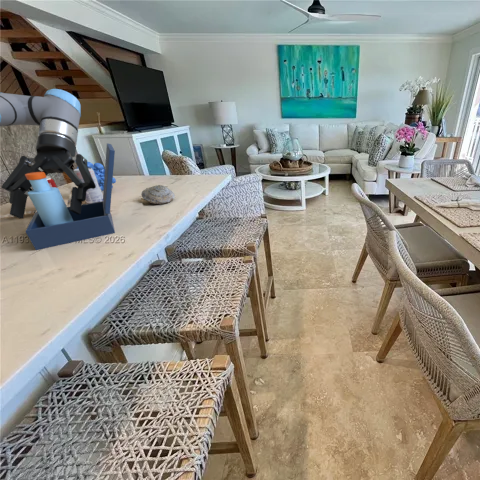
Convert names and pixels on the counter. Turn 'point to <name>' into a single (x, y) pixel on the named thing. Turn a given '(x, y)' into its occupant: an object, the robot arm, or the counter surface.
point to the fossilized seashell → (158, 194)
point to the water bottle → (47, 200)
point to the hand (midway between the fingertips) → (46, 214)
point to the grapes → (99, 173)
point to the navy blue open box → (71, 227)
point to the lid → (108, 177)
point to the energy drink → (91, 194)
